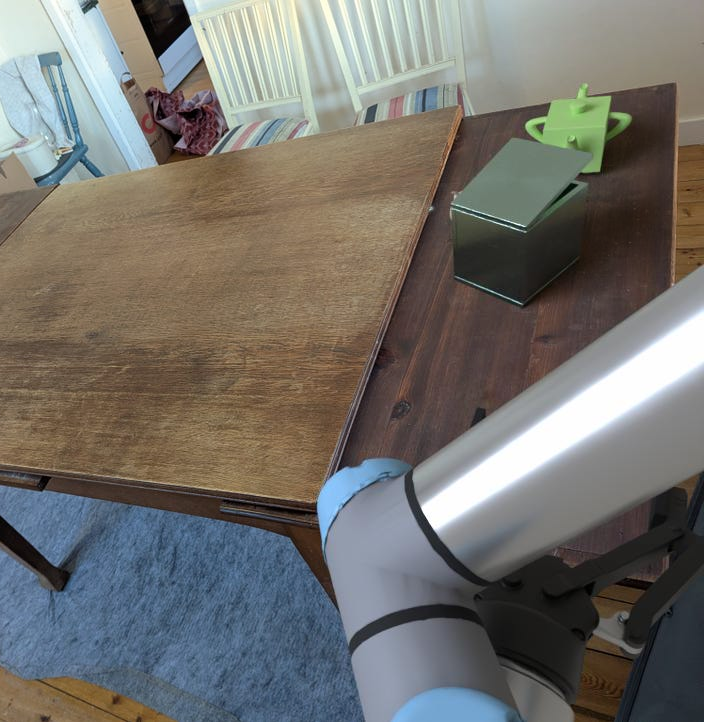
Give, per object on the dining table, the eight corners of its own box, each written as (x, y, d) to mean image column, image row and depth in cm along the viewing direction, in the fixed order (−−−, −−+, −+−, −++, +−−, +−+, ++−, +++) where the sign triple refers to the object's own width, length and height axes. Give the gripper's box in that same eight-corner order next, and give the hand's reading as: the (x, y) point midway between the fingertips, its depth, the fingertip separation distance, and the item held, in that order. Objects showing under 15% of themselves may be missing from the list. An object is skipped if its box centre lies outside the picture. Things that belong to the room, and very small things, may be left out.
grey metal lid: (513, 141, 86) (512, 136, 85) (593, 158, 78) (593, 153, 77) (451, 207, 85) (450, 203, 84) (526, 231, 76) (525, 227, 76)
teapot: (565, 194, 100) (571, 133, 93) (508, 168, 110) (509, 111, 103) (642, 156, 101) (654, 93, 94) (579, 133, 111) (585, 75, 104)
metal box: (508, 237, 96) (510, 164, 88) (579, 261, 88) (588, 183, 80) (454, 280, 93) (450, 208, 85) (522, 308, 85) (526, 232, 76)
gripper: (341, 629, 49) (421, 429, 60) (738, 797, 36) (744, 501, 47) (325, 587, 44) (415, 378, 55) (780, 764, 31) (775, 442, 42)
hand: (566, 434), depth 51 cm, fingers open, 13 cm apart
